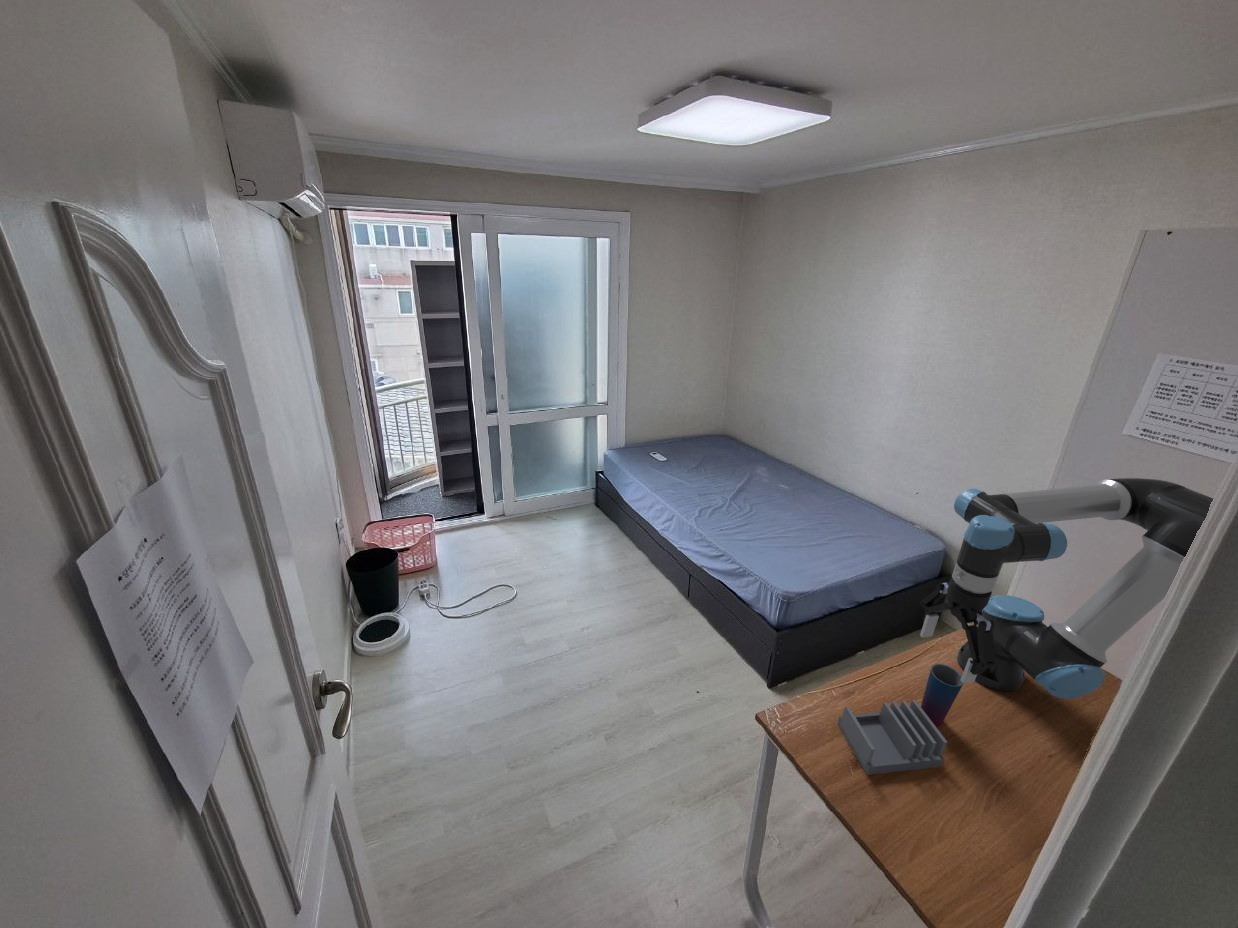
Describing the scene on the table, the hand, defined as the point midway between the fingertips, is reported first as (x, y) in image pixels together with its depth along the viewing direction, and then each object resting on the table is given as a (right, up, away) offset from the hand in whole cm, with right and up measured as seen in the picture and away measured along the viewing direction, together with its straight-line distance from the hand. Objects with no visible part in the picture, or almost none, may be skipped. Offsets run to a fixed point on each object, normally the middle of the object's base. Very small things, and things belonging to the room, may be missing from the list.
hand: (945, 657), depth 116 cm
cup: (+2, -19, +9) cm, 21 cm away
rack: (-12, -22, +2) cm, 25 cm away
